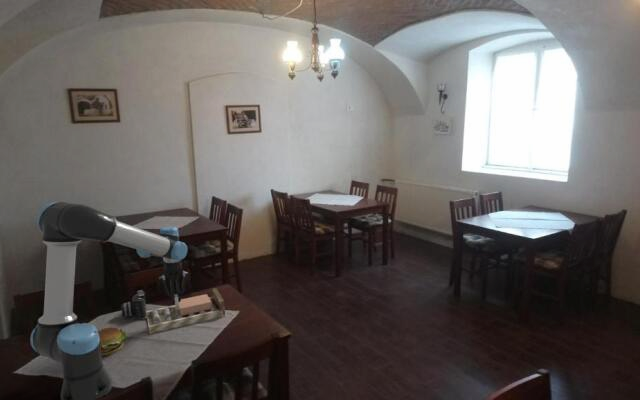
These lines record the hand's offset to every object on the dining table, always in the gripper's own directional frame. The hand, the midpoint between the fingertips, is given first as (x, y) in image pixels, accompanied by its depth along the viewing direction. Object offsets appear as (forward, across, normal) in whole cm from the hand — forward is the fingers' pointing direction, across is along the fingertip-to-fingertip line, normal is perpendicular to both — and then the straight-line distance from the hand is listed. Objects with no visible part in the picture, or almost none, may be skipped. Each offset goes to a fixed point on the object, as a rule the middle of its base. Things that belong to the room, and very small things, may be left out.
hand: (177, 308), depth 191 cm
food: (+5, -29, -13) cm, 32 cm away
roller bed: (+5, +3, 0) cm, 6 cm away
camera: (+5, -18, +15) cm, 24 cm away
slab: (+1, +8, 0) cm, 8 cm away
